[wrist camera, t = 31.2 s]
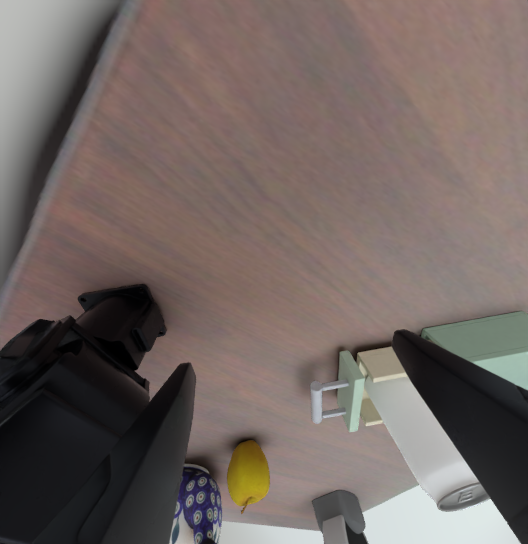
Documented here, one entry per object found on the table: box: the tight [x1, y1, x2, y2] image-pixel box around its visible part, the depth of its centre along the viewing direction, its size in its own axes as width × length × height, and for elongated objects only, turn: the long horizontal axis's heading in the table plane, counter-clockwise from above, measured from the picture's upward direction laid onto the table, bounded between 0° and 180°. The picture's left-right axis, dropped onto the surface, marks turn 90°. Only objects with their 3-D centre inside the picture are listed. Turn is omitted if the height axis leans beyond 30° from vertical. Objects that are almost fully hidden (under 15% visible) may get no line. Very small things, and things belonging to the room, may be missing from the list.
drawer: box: [310, 340, 435, 432], centre depth 28 cm, size 18×11×4 cm, turn 97°
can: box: [364, 375, 491, 512], centre depth 24 cm, size 6×6×12 cm
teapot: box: [169, 464, 222, 544], centre depth 33 cm, size 25×15×15 cm, turn 139°
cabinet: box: [421, 311, 528, 390], centre depth 29 cm, size 14×12×6 cm
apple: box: [227, 440, 270, 515], centre depth 33 cm, size 6×6×8 cm
